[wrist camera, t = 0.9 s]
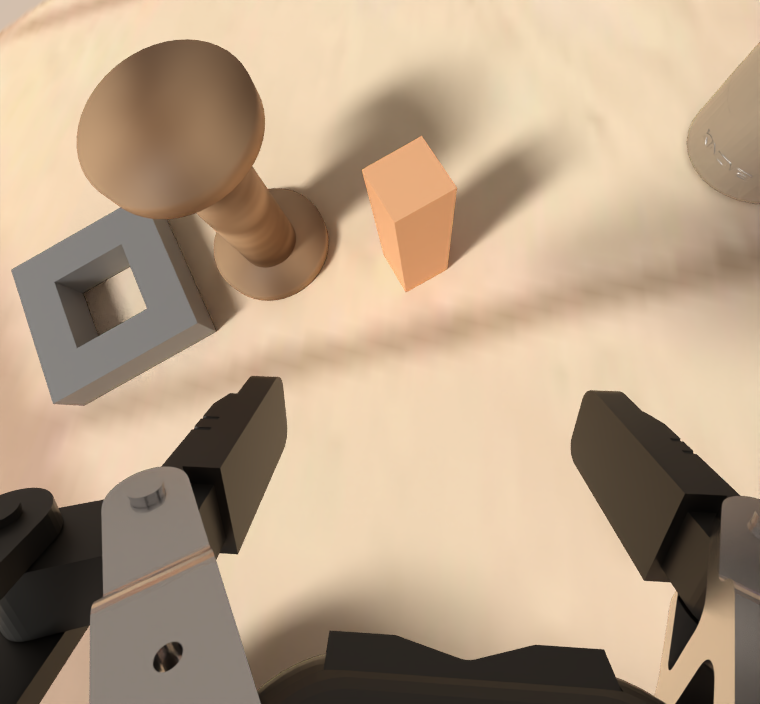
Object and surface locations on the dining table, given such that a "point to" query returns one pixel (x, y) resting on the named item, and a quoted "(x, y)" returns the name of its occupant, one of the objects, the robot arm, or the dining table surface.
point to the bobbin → (200, 162)
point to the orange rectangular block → (412, 211)
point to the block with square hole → (73, 319)
